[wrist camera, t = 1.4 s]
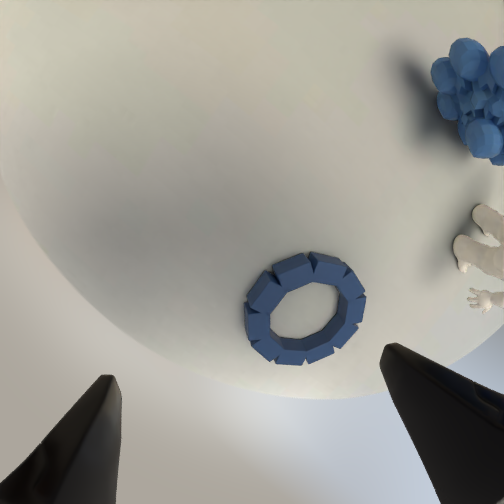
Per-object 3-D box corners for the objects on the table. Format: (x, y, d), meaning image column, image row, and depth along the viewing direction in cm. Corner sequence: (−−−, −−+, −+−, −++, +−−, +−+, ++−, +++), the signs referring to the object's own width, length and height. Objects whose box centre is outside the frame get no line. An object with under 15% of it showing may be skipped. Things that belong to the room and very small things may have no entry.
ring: (288, 369, 26) (292, 381, 25) (218, 306, 22) (220, 318, 21) (372, 307, 25) (381, 317, 24) (320, 226, 21) (329, 234, 20)
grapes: (368, 90, 18) (512, 87, 7) (409, 33, 17) (538, 12, 6) (452, 189, 22) (564, 240, 12) (483, 134, 21) (591, 163, 10)
